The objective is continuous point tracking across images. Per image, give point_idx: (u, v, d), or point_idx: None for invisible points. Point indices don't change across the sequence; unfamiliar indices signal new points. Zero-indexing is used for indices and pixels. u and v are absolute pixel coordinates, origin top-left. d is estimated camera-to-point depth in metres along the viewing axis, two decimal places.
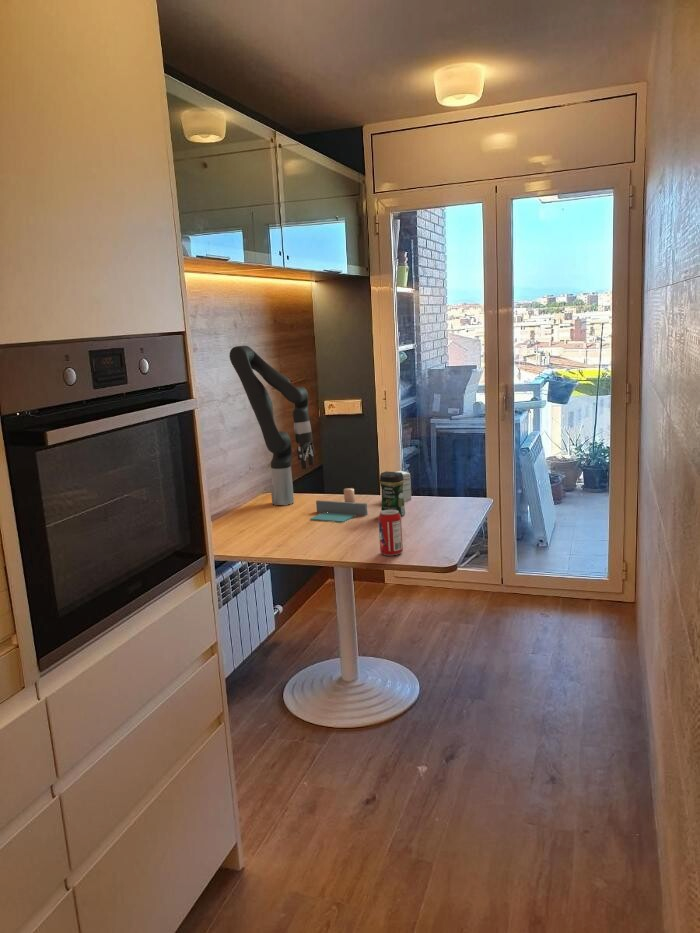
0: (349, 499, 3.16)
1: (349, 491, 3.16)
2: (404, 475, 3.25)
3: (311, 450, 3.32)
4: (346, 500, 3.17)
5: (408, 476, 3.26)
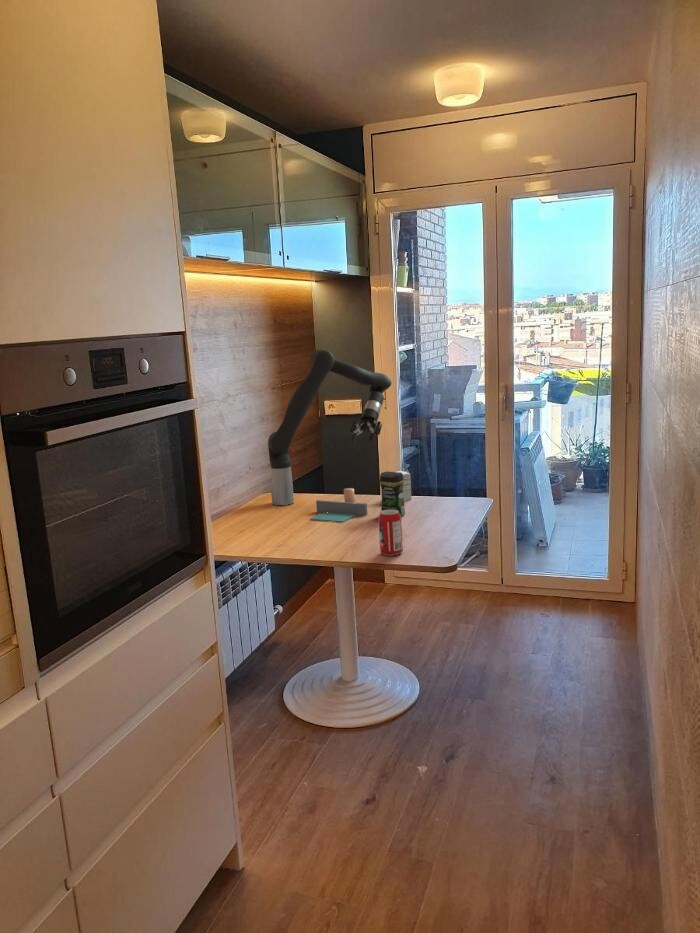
0: (349, 499, 3.16)
1: (349, 491, 3.16)
2: (404, 475, 3.25)
3: None
4: (346, 500, 3.17)
5: (408, 476, 3.26)
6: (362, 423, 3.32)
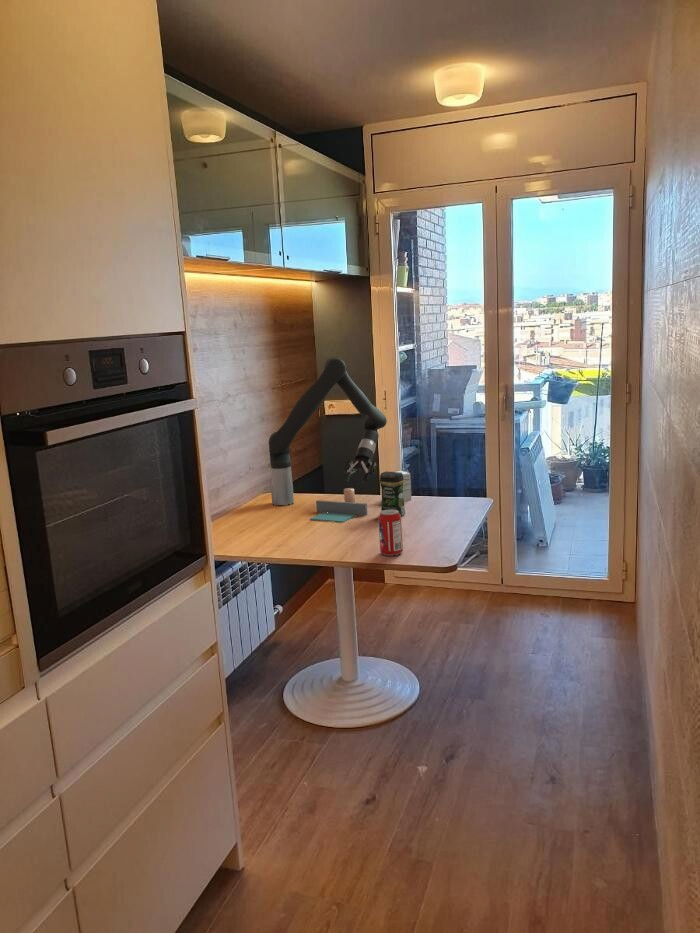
0: (349, 499, 3.16)
1: (349, 491, 3.16)
2: (404, 475, 3.25)
3: None
4: (346, 500, 3.17)
5: (408, 476, 3.26)
6: (356, 462, 3.26)
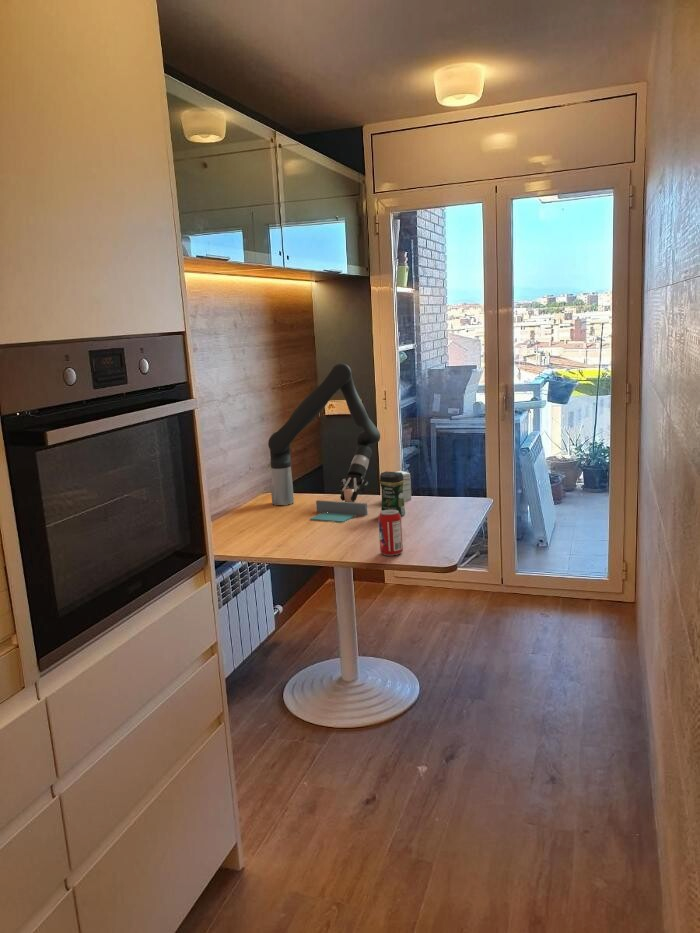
0: (349, 499, 3.16)
1: (349, 491, 3.16)
2: (404, 475, 3.25)
3: None
4: (346, 500, 3.17)
5: (408, 476, 3.26)
6: (349, 479, 3.21)
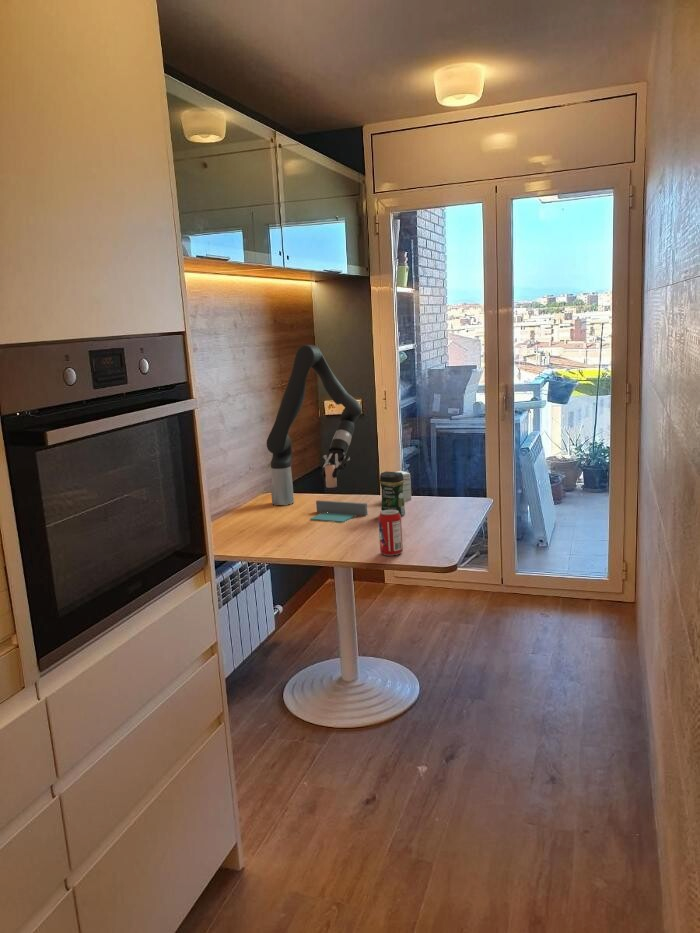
0: (331, 476, 3.01)
1: (330, 467, 3.01)
2: (404, 475, 3.25)
3: (331, 463, 3.08)
4: (327, 477, 3.02)
5: (408, 476, 3.26)
6: (330, 455, 3.06)
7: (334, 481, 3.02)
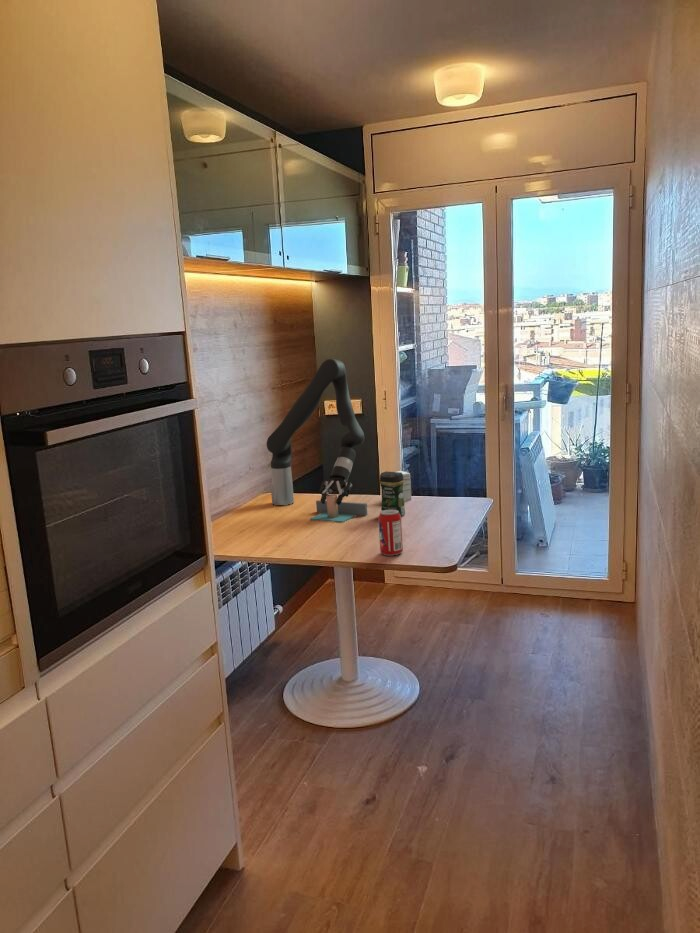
0: (332, 506, 3.03)
1: (332, 498, 3.03)
2: (404, 475, 3.25)
3: (332, 490, 3.10)
4: (329, 507, 3.04)
5: (408, 476, 3.26)
6: (331, 482, 3.08)
7: (336, 511, 3.04)
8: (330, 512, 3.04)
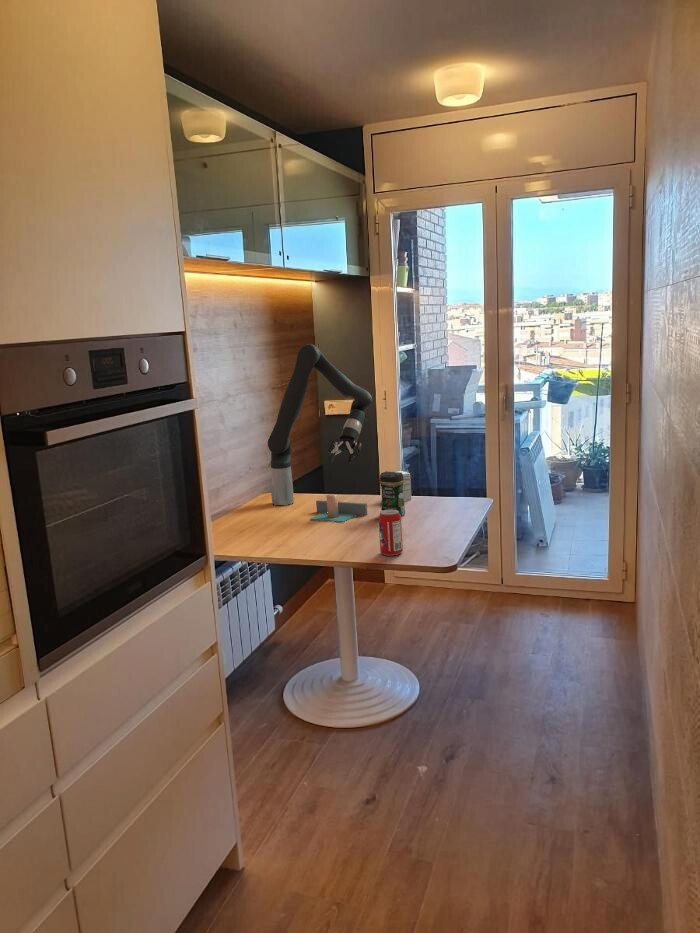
0: (332, 506, 3.04)
1: (332, 497, 3.03)
2: (404, 475, 3.25)
3: None
4: (329, 507, 3.04)
5: (408, 476, 3.26)
6: (341, 443, 3.14)
7: (336, 511, 3.04)
8: (330, 512, 3.04)
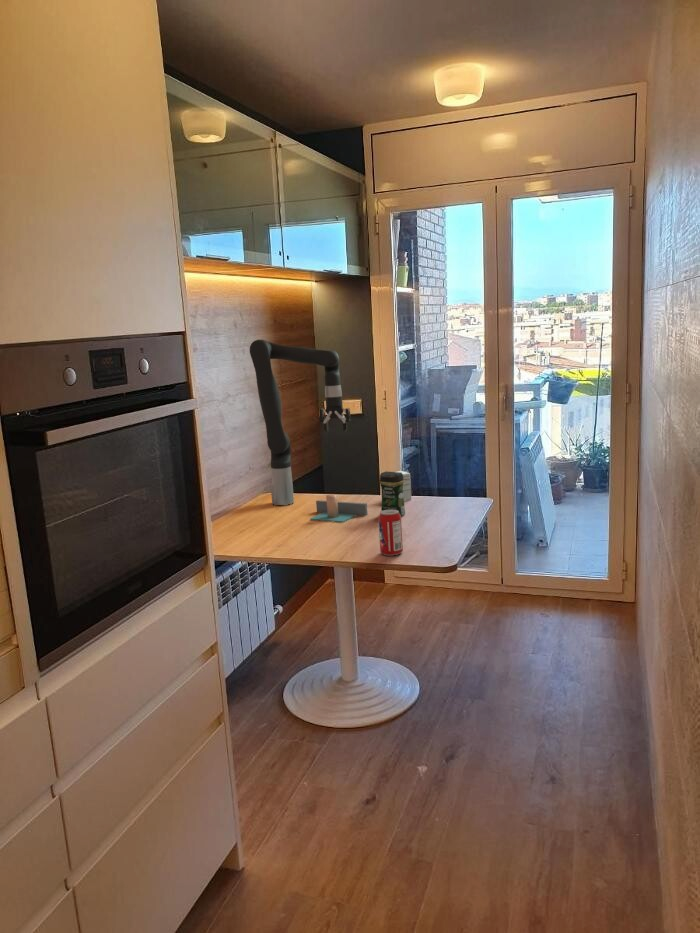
0: (332, 506, 3.03)
1: (332, 498, 3.03)
2: (404, 475, 3.25)
3: None
4: (329, 507, 3.04)
5: (408, 476, 3.26)
6: (330, 413, 3.29)
7: (335, 511, 3.04)
8: (330, 512, 3.04)
